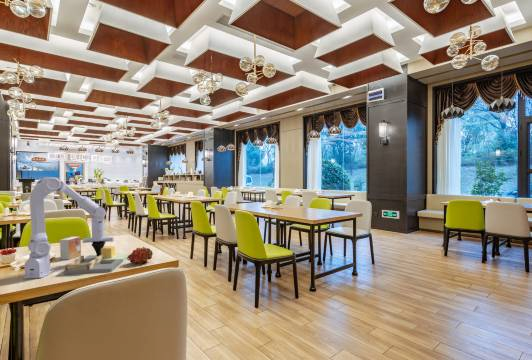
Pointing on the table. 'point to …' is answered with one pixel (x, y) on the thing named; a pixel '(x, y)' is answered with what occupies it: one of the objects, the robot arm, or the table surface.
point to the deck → (101, 264)
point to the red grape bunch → (140, 255)
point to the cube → (108, 251)
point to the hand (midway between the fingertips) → (99, 255)
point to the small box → (70, 247)
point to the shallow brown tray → (76, 266)
